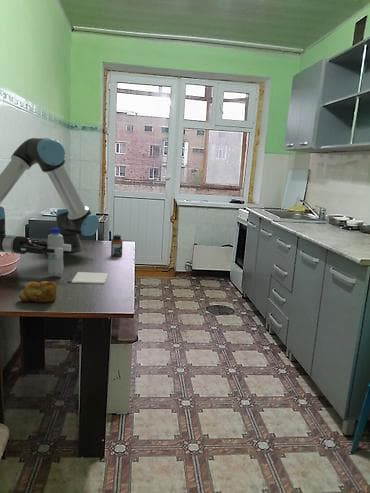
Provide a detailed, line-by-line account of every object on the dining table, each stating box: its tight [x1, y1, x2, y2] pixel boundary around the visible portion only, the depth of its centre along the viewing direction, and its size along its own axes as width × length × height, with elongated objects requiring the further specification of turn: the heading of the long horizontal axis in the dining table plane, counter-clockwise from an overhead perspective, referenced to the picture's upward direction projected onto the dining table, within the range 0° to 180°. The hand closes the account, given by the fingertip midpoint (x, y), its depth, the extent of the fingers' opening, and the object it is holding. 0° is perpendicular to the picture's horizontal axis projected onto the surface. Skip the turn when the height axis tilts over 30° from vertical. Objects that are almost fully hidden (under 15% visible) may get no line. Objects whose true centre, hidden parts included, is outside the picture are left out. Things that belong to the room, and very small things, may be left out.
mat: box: [67, 271, 109, 285], centre depth 166 cm, size 14×15×1 cm
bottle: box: [47, 227, 65, 276], centre depth 164 cm, size 7×7×20 cm
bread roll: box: [18, 280, 58, 304], centre depth 137 cm, size 13×10×8 cm
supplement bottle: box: [110, 234, 123, 258], centre depth 208 cm, size 6×6×11 cm
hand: (66, 249), depth 163 cm, fingers closed on bottle, 6 cm apart
